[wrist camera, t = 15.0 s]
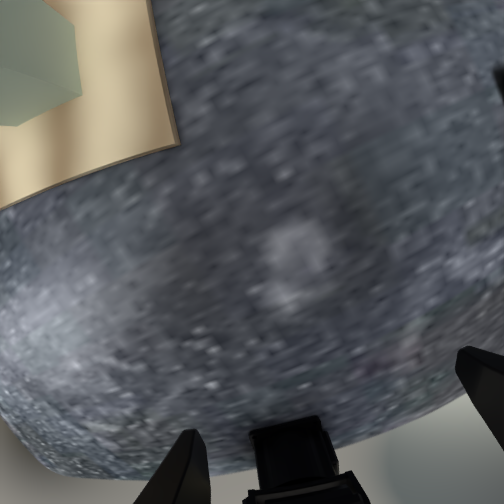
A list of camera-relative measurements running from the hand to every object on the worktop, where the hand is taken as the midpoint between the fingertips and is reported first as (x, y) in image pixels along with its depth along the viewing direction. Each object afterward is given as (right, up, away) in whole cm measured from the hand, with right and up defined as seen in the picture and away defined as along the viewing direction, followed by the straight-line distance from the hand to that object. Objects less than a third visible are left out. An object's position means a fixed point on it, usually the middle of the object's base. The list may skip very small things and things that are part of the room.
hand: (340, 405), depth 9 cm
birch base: (-15, +16, +7) cm, 23 cm away
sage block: (-15, +15, +5) cm, 22 cm away
